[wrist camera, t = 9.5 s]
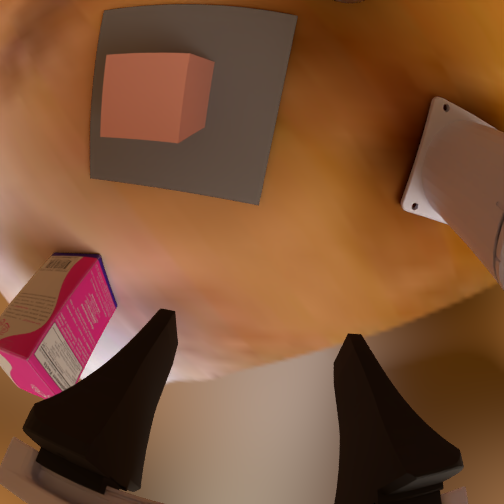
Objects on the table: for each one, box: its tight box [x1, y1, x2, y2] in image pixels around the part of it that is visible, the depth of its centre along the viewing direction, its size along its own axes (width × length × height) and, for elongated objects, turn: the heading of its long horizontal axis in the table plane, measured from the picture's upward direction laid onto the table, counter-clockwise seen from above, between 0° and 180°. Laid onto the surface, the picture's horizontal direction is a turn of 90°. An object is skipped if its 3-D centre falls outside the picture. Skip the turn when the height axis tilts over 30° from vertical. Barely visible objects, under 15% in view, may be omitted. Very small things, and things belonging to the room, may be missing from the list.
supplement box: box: [0, 253, 117, 399], centre depth 19 cm, size 6×6×12 cm
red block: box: [100, 53, 215, 143], centre depth 13 cm, size 4×4×5 cm
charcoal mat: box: [90, 4, 298, 205], centre depth 15 cm, size 12×12×1 cm
